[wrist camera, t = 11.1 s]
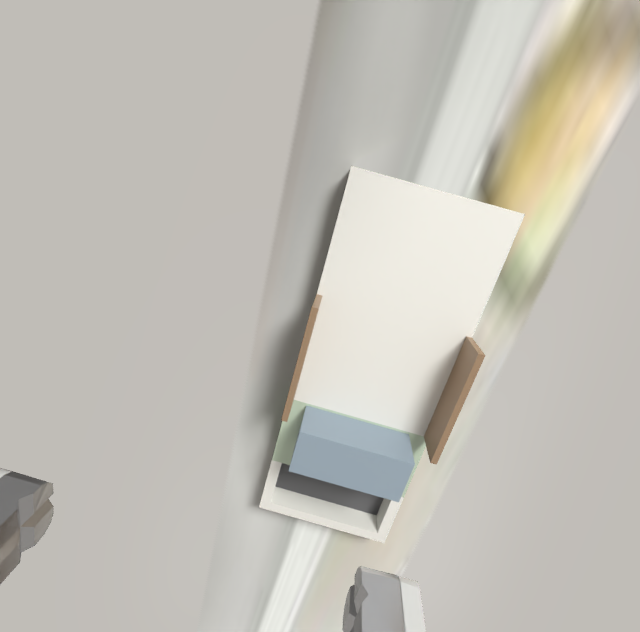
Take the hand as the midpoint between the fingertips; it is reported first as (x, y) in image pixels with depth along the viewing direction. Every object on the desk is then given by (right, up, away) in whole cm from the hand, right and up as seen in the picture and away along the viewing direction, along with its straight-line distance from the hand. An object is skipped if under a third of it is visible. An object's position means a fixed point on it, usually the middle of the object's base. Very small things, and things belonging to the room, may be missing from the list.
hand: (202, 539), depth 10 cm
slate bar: (+6, -5, +26) cm, 27 cm away
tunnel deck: (+8, +1, +26) cm, 27 cm away
